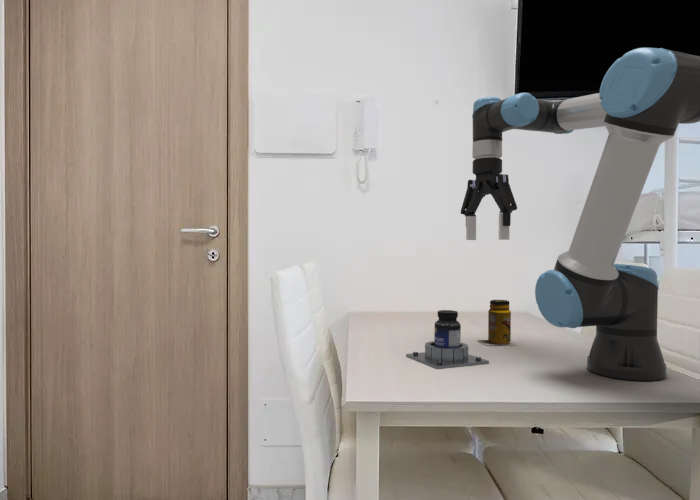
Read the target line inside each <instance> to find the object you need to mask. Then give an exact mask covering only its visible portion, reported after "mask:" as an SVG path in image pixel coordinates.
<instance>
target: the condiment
mask: <svg viewBox="0 0 700 500" xmlns="http://www.w3.org/2000/svg"><path fill="white" fill-rule="evenodd" d="M510 309H511V308H510V301H509V300H507V299H491V300H490V301H489V309H488V310H487V311H488V314H487V315H488V316H487V317H488V319H487V320H488V321H487V322H488V325H487V326H488V333H487V338H488V339H477V340H476V341H477V342H478V343H480V344H482V345H484V346H517V345H516V343H512V342H511V341H512V340H511V337H512V336H511V334H512V332H511V331H512V330H511V328H512V327H511V326H512V325H511V324H512V323H511V321H512V312H511V310H510Z"/></svg>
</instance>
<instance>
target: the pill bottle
mask: <svg viewBox="0 0 700 500" xmlns="http://www.w3.org/2000/svg"><path fill="white" fill-rule="evenodd" d="M458 316H459V313H458V311H457V310H452V309H451V310H450V309H449V310H447V309H442V310H441V309H439V310H437V318H438V320H436V321H435V322H434V334H433V335H434V336H433V337H434V340H433V341H434V347H441V348H458V347H460V342H461V338H462V337H461V330H462V329H461V328H462V327H461V326H462V325H461V323H460V322H459V320H457V318H458Z"/></svg>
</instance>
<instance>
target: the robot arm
mask: <svg viewBox="0 0 700 500" xmlns="http://www.w3.org/2000/svg"><path fill="white" fill-rule="evenodd" d="M472 110H473V111H472V116H471V118H472V151H471V153H472V159H473V161H472V174H473V175H475V179H468V180H467V188H466V191H465V195H464V198H463V203H462V206H461V209H460V215H464V216H465V229H466V235H465V239H466V241H476V240H477V215H476V212H477V211H478V208H479V207H480V205H481V202H482V200H483V198H485V197H486V196H488V195H491V197H492V198H493V201H495V203H496V205H497V207H498V209H499V212H498V240H500V241H501V240H504V241H505V240H507V241H509V240H510V226H511V224H512V223H511V219H512V218H511V217H512V215H511V214H512V213H513V211H516V210H517V209H518V205H517V202H516V200H515V196H514V194H513V191H512V188H511V185H510V181H509V175H508V174H506V173H505V174H503V160H502V157H503V133H505V132H508V131H511V130H521V131H533V132H541V133H551V134H552V133H553V134H555V135H563V134H566V135H568V134H571V133H573V132H574V131H575V130H584V129H593V128H602V127H605V129H606V130H607V132H608V136H607V139H606V142H605V143H604V144H605V145H604V147H603V150H602V152H601V156H600V159H599V161H598V165H597V167H596V170H595V173H594V177H593V178H592V181H591V185H590V187H589V191H588V193H587V196H586V199H585V203H584V206H583V208H582V211H581V214H580V217H579V220H578V221H577V222H578V223H577V226H576V228H575V231H574V234H573V236H572V237H573V238H572V240H571V243H570V245H569V246H570V247H569V248H568V250H566V251H565V252H562V253H560V254H559V255H558V256H557V259H556V263H555V266H554V267H553V269H548V270H546V271H545V272H543V273H541V274H540V275H539V276H538V278H537V280H536V282H535V283H536V284H535V289H534V290H535V291H534V293H535V294H534V295H535V302H536V304H537V307H538V310H539V312H540V314H541V316H542V317H543V318H544V320H546V321H547V323H549V324H550V325H553V326H554V327H558V328H568V329H569V328H570V329H576V328H581V327H595V337H594V339H593V342H592V344H591V347H590V351H589V355H587V359H586V369H587V370H588V371H589V372H591V373H593V374H596V375H600V376H602V377H608V378H613V379H620V380H625V381H642V382H643V381H647V382H648V381H659V380H663V379H664V380H665V379H666V378H667V376H668V375H667V370H668V369H667V364H666V362H665V359H664V355H663V353H662V349H661V347H660V343H659V341H658V305H659V304H658V301H659V297H658V295H659V294H658V293H659V288H660V287H659V284H658V274H657V272H656V271H655V270H654V269H653V268H651V267H647V266H642V265H633V264H629V265H628V264H626V263H625V264H622V263H615V262H616V260H617V257H618V255H619V251H620V249H621V247H622V244H623V241H624V238H625V237H626V233H627V231H628V228H629V225H630V222H631V220H632V218H633V216H634V213H635V210H636V208H637V205H638V203H639V199H640V197H641V195H642V193H643V189H644V187H645V185H646V182H647V179H648V176H649V173H650V171H651V168H652V166H653V164H654V161H655V158H656V157H657V152H658V151H659V149H660V146H661V145H662V144H663V143H665V142H667V141H668V140H670V139H672V138H674V136H675V133H676V131H677V129H678V127H679V125H680V124H683V125H684V124H685V125H687V124H688V125H689V124H696V123H700V55H694V54H689V53H685V52H681V51H675V50H671V49H667V48H666V49H665V48H663V47H660V48H659V47H658V48H657V47H637V48H634V49H632V50H629V51H628V52H625V53H624V54H623V55H622V56H621V57H619V58H617V59H616V60H615V61H614V62H613V63H612V65H611V66H610V67H609V68H608V69H607V71H606V73H605V75H604V76H603V79H602V81H601V84H600V87H599V92H598V93H597V92H596V93H592V94H587V95H581V96H577V97H572V98H567V99H562V100H557V101H550V100H543V99H537V98H536V97H535V96H533V95H532V94H531V93H530V92H520V93H515V94H513V95H510V96H508V97H506V98H505V99H501V98H500V97H497V96H485V97H480V98H478V99H476V100H475V101H474V102H473V109H472Z"/></svg>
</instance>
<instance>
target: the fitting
mask: <svg viewBox="0 0 700 500" xmlns="http://www.w3.org/2000/svg"><path fill="white" fill-rule="evenodd" d="M405 356H406V358H409V359H412V360H413V361H417V362H420V363H422V364H424V365H426V366H429V367H431V368H434V369H437V370H439V369H440V370H441V369H448V368H458V367H469V366H479V365H487V364H490V361H489V360H487V359H484V358H482V357H480V356H475V355H471V354H469V345H468V344H467V343H464V342H462V341H460V347H458V348H441V347H434V340H432V341H431V340H430V341H428V342H425V343H424V351H423V352H418V351H413V352H412V353H406V354H405Z"/></svg>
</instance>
